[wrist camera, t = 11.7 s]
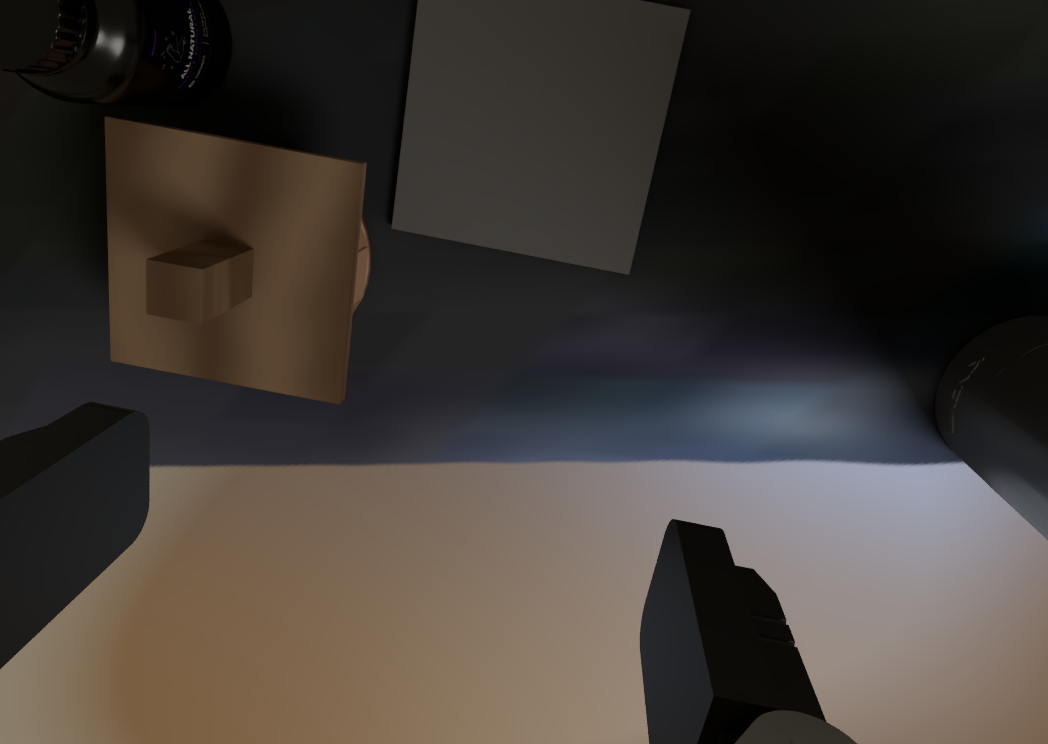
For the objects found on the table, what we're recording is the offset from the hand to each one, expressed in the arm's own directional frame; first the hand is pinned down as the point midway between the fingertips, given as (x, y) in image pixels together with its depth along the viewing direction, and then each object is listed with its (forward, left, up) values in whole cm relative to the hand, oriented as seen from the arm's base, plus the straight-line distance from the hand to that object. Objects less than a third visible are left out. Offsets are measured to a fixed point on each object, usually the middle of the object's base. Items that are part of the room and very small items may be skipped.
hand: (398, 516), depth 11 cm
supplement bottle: (+20, -6, -30) cm, 37 cm away
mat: (+1, -5, -30) cm, 31 cm away
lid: (+14, +4, -25) cm, 29 cm away
